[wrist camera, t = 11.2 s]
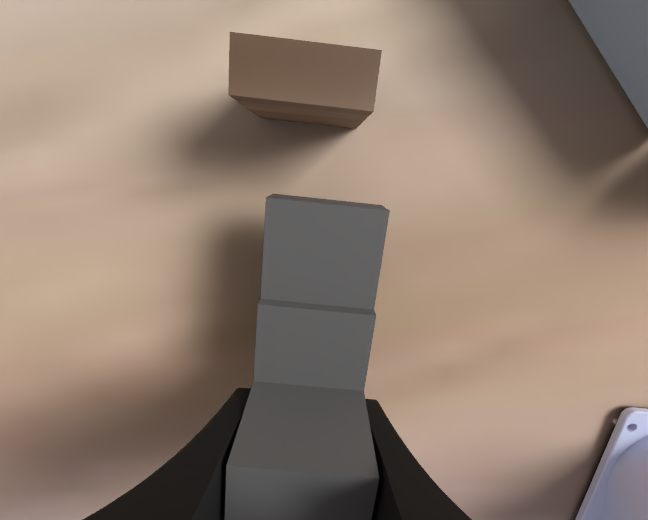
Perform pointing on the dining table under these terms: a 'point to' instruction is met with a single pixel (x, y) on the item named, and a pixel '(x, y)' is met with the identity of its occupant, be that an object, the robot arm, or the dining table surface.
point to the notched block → (311, 367)
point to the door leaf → (621, 43)
